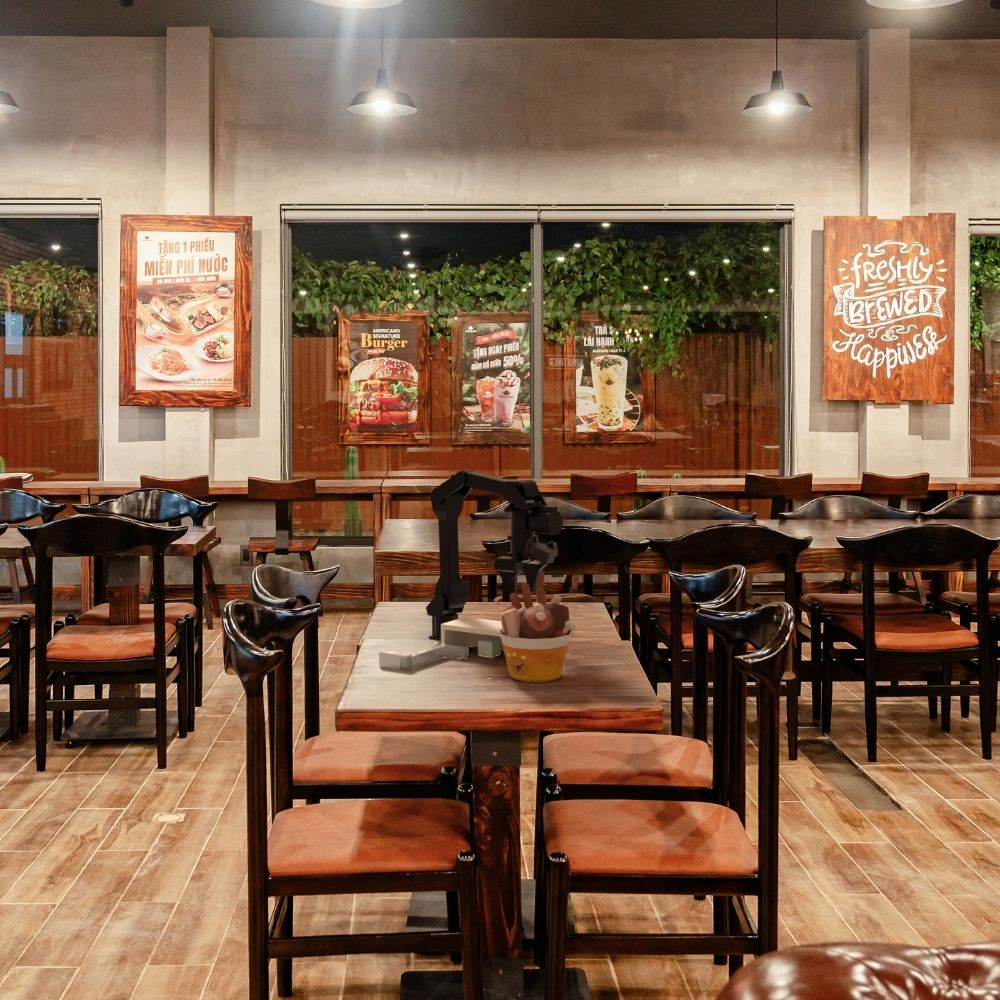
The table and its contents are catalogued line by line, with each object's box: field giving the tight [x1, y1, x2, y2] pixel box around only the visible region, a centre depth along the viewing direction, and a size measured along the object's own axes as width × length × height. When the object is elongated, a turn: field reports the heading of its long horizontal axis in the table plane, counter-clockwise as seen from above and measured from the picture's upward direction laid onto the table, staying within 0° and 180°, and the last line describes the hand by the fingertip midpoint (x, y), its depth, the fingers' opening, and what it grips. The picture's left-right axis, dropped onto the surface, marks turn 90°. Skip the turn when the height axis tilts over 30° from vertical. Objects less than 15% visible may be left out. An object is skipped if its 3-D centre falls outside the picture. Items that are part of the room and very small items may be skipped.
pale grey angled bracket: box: [378, 643, 470, 672], centre depth 271 cm, size 13×18×4 cm
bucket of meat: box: [500, 582, 577, 682], centre depth 256 cm, size 20×16×20 cm
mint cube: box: [477, 637, 502, 657], centre depth 278 cm, size 4×4×4 cm
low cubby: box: [440, 616, 504, 650], centre depth 280 cm, size 20×10×7 cm, turn 58°
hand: (522, 594), depth 281 cm, fingers open, 9 cm apart
